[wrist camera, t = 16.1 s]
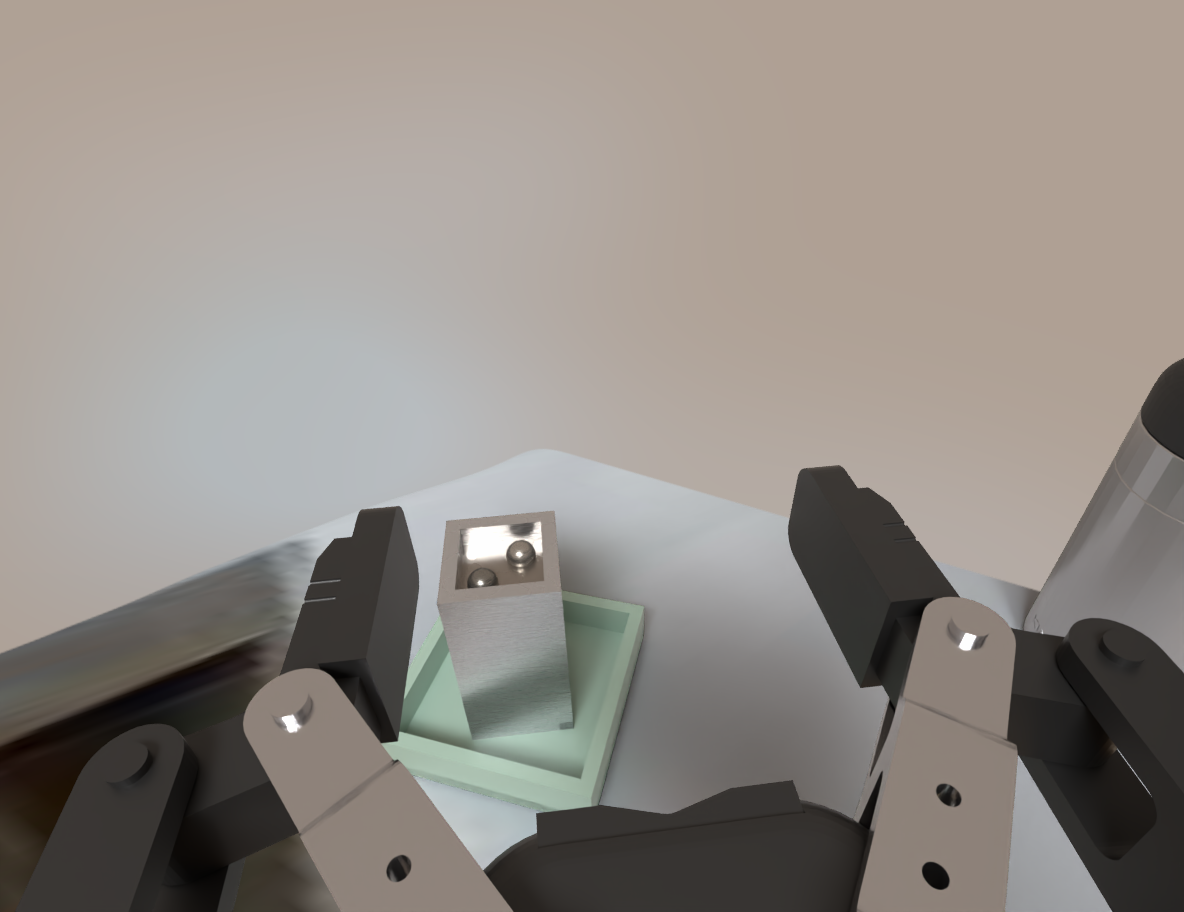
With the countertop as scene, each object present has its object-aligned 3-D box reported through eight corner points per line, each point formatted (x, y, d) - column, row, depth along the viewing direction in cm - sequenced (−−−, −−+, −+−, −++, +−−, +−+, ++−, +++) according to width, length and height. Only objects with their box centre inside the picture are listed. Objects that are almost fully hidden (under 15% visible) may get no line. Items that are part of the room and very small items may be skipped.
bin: (643, 635, 45) (644, 606, 43) (592, 825, 35) (591, 798, 33) (471, 600, 48) (465, 571, 46) (379, 765, 38) (367, 737, 36)
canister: (566, 645, 44) (554, 510, 37) (573, 728, 39) (561, 591, 32) (476, 655, 43) (446, 520, 36) (472, 740, 39) (436, 604, 31)
